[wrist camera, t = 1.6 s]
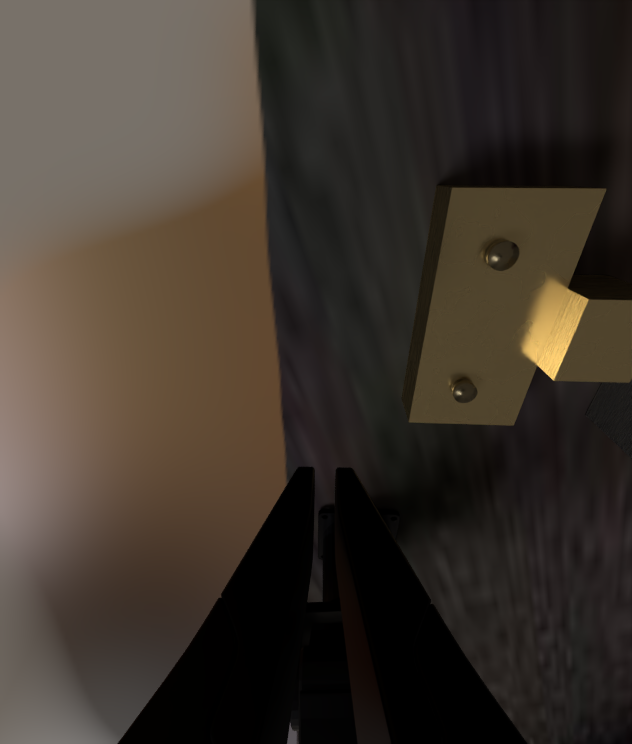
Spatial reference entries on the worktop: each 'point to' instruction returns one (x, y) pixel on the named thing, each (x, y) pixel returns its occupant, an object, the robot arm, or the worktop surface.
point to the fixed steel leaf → (614, 413)
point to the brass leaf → (510, 303)
